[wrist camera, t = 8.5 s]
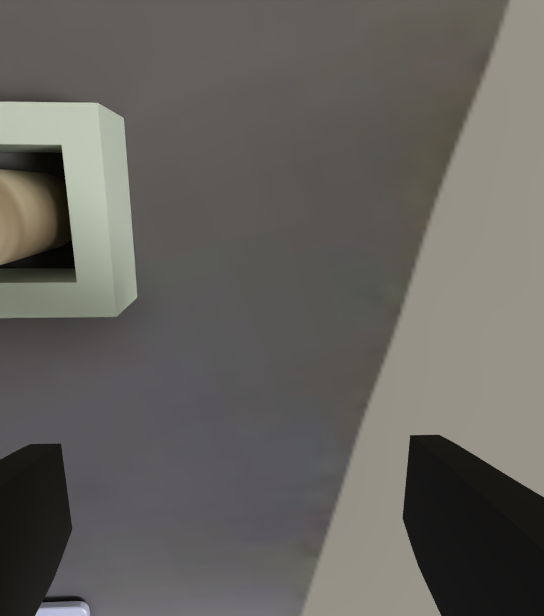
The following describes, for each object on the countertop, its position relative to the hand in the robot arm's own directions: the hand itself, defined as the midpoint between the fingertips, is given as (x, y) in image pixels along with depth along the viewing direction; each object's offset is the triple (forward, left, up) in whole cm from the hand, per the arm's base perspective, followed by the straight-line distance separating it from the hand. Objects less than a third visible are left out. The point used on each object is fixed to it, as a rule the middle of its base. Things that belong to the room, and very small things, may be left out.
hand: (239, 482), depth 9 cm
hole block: (+5, +8, -10) cm, 14 cm away
